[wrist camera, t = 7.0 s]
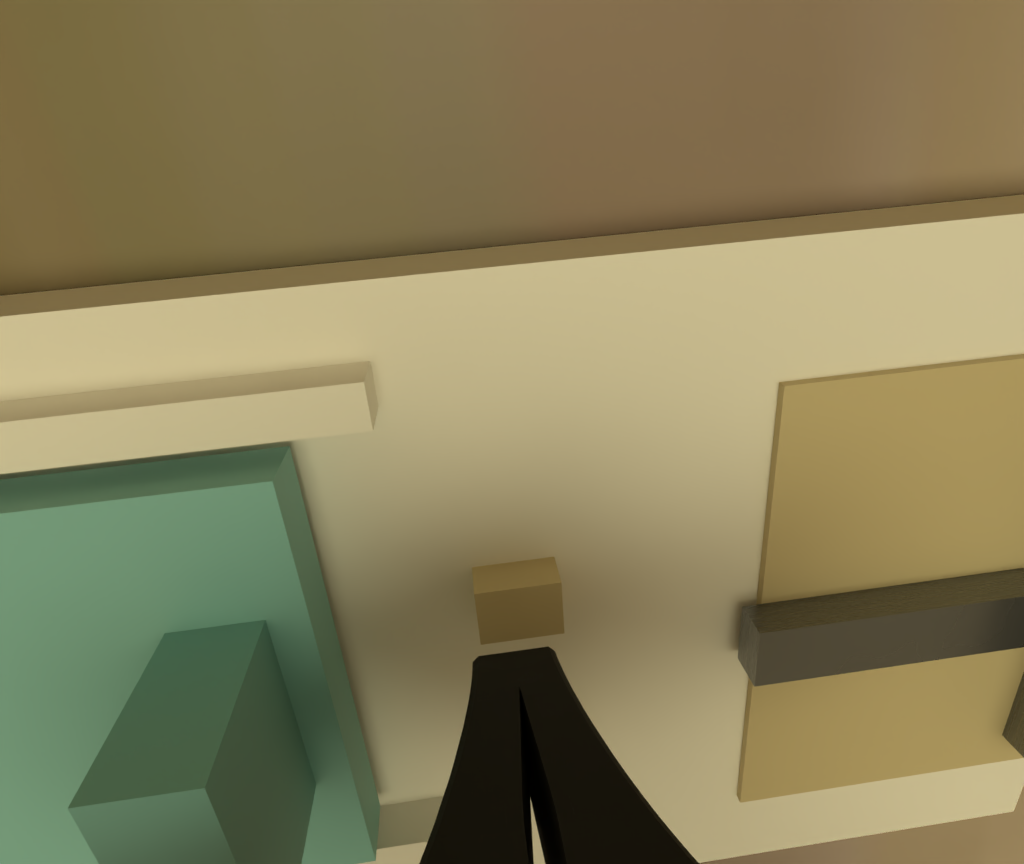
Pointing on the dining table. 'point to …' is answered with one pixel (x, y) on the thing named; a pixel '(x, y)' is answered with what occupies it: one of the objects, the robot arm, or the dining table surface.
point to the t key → (887, 631)
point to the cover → (174, 672)
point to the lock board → (609, 486)
